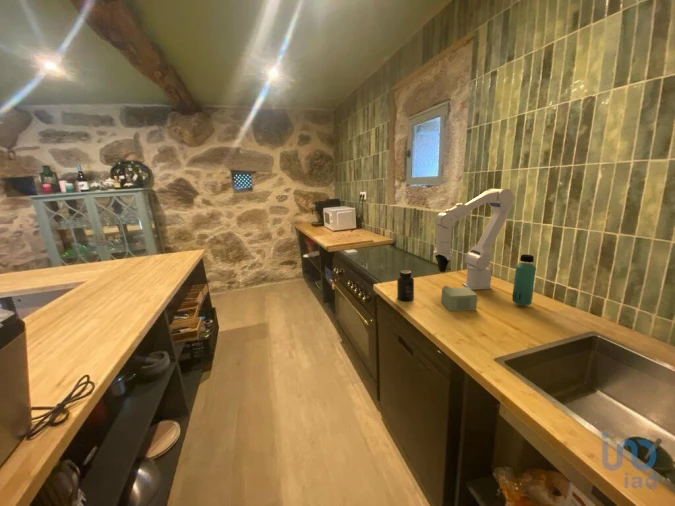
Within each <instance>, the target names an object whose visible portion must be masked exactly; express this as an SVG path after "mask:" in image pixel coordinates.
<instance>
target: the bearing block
mask: <svg viewBox="0 0 675 506" xmlns="http://www.w3.org/2000/svg"><path fill="white" fill-rule="evenodd" d="M477 301H478V294H477V293H476V292H474V290H470V289H469V288H468V287H466V286H463V287H462V286H461V287H459V286H458V287H450V288H443V287H442V288H441V301H440V302H441V304H442V305H443V306H444V307H446V309H447V310H448V311H449V312H457V311H459V312H460V311H474V310H477V303H478V302H477Z"/></svg>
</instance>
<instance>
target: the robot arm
mask: <svg viewBox="0 0 675 506" xmlns="http://www.w3.org/2000/svg"><path fill="white" fill-rule="evenodd" d="M512 191H513V190H511V189H510V188H494V187H493V188H491V187H490V188H488V189H487V190H484V191H483V192H482V193H481V194H479V195H478V196H476V197H475V198H473V199H471V200H470V201H468V202H466V203H456V204H455V206H454V207H452V208H450V209H446V210H445V212H439V213H438V214H437V215H436V217H435V218H434V224H435V225H436V243H435V245H436V247H435V246H434V250H433V254H434V258H435V259H436V262H437V266H438V270H439V271H438V272H441V273H445V272H446V270H447V267H448V264H449V262H450V261H451V260H453V259H454V258H453V257H454V255H453V254H452V251H451V246H452V245H451V243H452V241H451V240H452V227H453V226H454V225H455V223H456V222H457V221H460V220H462V219H463V218H465V217H467V216H468V215H469V212H470V211H472V210H475V209H476V208H478V207H479V208H480V207H481V206H483V205H485V204H488V205H489V206H490V207H491V210H492V211H493V213H492V215H491V217H490V218H489V221H488V223H487V224H486V227H485V229H484V231H483V232H482V234H481V236H480V238H479V239H478V242H477V243H476V244H475V245H474V246H471V248H470V250H469V251H468V252H466V254H465V255H464V261H465V263H466V267H467V268H466V281H465V282H462V285H463V286H464V287H468V288H469V289H470V290H472V291H474V290H475V291H476V290H490V289H492V287H491V282H492V271H491V269H490V268H489V266H490V263H491V258H492V254H491V251H490V250H491V248H492V246H493V244H494V242H495V241H496V239H497V237H498V235H499V233H500V231H501V229H502V227H503V225H504V224H505V222H506V220H507V219H508V217H509V214H510V213H511V212H510V211H511V206H512V203H513V202H514V199H515V196H514V194H513V192H512ZM435 254H436V255H435Z"/></svg>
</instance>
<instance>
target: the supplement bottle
mask: <svg viewBox="0 0 675 506" xmlns="http://www.w3.org/2000/svg"><path fill="white" fill-rule="evenodd" d="M412 273H413V272H412V271H411V270H409V269H403V270H402V269H400V270H399V277H398V278H397V279H396V280H397V281H396V283H397V284H396V285H397V287H396V291H397V299H398V300H400V301H402V302H410V301H413V300H414V298H415V280H414V278H413V276H412V275H413V274H412Z"/></svg>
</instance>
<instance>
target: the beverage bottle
mask: <svg viewBox="0 0 675 506" xmlns="http://www.w3.org/2000/svg"><path fill="white" fill-rule="evenodd" d="M534 258H535V257H534V255H532V254H521V255H520V259H519V261H520V262H519V263H518V264H516V266H515V273H514V278H513V280H514V282H513V289H512V294H511V299H512V302H513V303H514V304H517V305H520V306H529V305H532V301H533V296H534V284H535V277H536V270H537V267H536V266H535V265H534V264H533V263H534Z"/></svg>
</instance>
